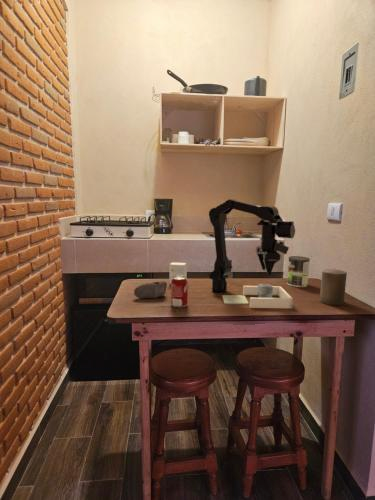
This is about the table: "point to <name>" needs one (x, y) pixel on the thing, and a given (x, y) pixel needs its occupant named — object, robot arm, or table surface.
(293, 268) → the clear lidded jar
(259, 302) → the open-sided box
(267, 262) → the robot arm
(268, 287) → the slate block
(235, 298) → the sage pad
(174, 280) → the soda can
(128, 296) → the table surface
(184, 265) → the small box
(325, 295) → the pillar candle
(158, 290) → the perforated stone tool
